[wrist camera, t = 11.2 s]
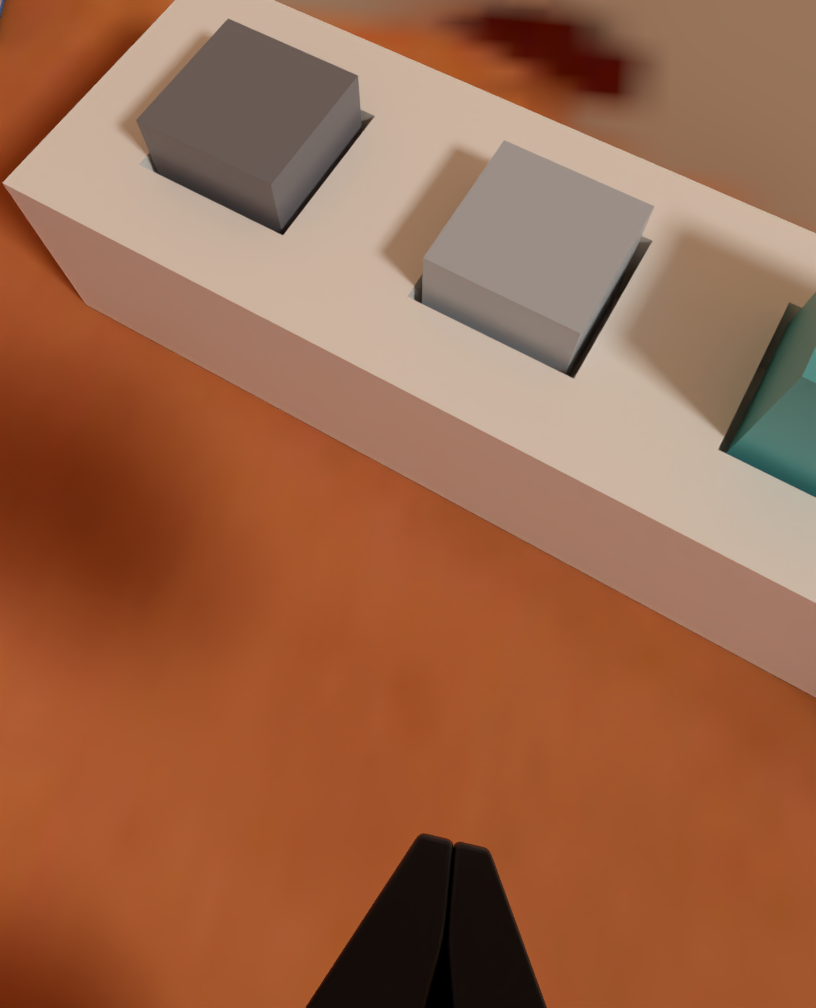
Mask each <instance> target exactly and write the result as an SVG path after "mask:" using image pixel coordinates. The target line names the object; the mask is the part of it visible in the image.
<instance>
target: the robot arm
mask: <svg viewBox="0 0 816 1008" xmlns="http://www.w3.org/2000/svg"><path fill="white" fill-rule="evenodd" d="M306 1008H547V1007H546V1004H545V1001H544V999H543V996H542V993H541V990H540V988H539V985H538V982H537V979H536V977H535V974H534V971H533V968H532V966H531V963H530V960H529V957H528V954H527V952H526V949H525V946H524V943H523V941H522V938H521V935H520V932H519V930H518V927H517V924H516V921H515V919H514V916H513V913H512V910H511V907H510V905H509V902H508V899H507V896H506V894H505V891H504V888H503V885H502V883H501V880H500V877H499V874H498V872H497V869H496V866H495V863H494V861H493V858H492V855H491V853H490V852H489V850H488V849H487V848H484V847H481V846H477V845H472V844H468V843H464V842H457V843H455V845H454V846H453V844H452V842H451V841H450V840H449V839H446V838H442V837H438V836H433V835H429V834H420V835H419V836H418V837H417V838H416V839H415V841H414V842H413V844H412V845H411V847H410V849H409V850H408V852H407V853H406V855H405V856H404V858H403V859H402V861H401V862H400V864H399V865H398V867H397V868H396V870H395V871H394V873H393V875H392V876H391V878H390V879H389V881H388V882H387V884H386V885H385V887H384V888H383V890H382V891H381V893H380V894H379V896H378V897H377V899H376V900H375V902H374V904H373V905H372V907H371V908H370V910H369V911H368V913H367V914H366V916H365V917H364V919H363V920H362V922H361V923H360V925H359V926H358V928H357V930H356V931H355V933H354V934H353V936H352V937H351V939H350V940H349V942H348V943H347V945H346V946H345V948H344V949H343V951H342V952H341V954H340V956H339V957H338V959H337V960H336V962H335V963H334V965H333V966H332V968H331V969H330V971H329V972H328V974H327V975H326V977H325V978H324V980H323V982H322V983H321V985H320V986H319V988H318V989H317V991H316V992H315V994H314V995H313V997H312V998H311V1000H310V1001H309V1003H308V1004H307V1006H306Z"/></svg>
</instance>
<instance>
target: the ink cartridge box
mask: <svg viewBox="0 0 816 1008" xmlns="http://www.w3.org/2000/svg"><path fill="white" fill-rule="evenodd" d="M4 2H5V0H0V17H1V13H2V10H3V6H4Z"/></svg>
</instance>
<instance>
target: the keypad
mask: <svg viewBox="0 0 816 1008" xmlns="http://www.w3.org/2000/svg"><path fill="white" fill-rule="evenodd" d="M227 19H231V20H233V21H235V22H238V23H240V24H242V25H244V26H247V27H249V28H251V29H253V30H256V31H258V32H260V33H263V34H265V35H267V36H269V37H272V38H274V39H276V40H278V41H281V42H283V43H285V44H287V45H290V46H292V47H294V48H297V49H299V50H301V51H303V52H306V53H308V54H310V55H312V56H315V57H317V58H319V59H322V60H324V61H326V62H328V63H331V64H333V65H335V66H337V67H340V68H342V69H344V70H347V71H349V72H351V73H353V74H356V75H358V81H359V95H360V109H361V123H362V134H361V135H360V136H359V138H358V139H357V140H356V141H355V143H354V144H353V145H352V147H351V148H350V149H349V151H348V152H347V153H346V154H345V156H344V157H343V158H342V160H341V161H340V162H339V163H338V165H337V166H336V167H335V169H334V170H333V171H332V173H331V174H330V175H329V176H328V178H327V179H326V180H325V182H324V183H323V184H322V186H321V187H320V188H319V189H318V191H317V192H316V193H315V195H314V196H313V197H312V199H311V200H310V201H309V202H308V204H307V205H306V206H305V208H304V209H303V210H302V212H301V213H300V214H299V215H298V217H297V218H296V219H295V221H294V222H293V223H292V224H291V226H290V227H289V228H288V230H287V231H286V232H285V234H284V235H281V234H279V233H277V232H275V231H273V230H271V229H269V228H267V227H265V226H263V225H261V224H259V223H256V222H254V221H252V220H250V219H248V218H246V217H244V216H242V215H240V214H238V213H236V212H234V211H232V210H230V209H228V208H226V207H224V206H222V205H220V204H218V203H216V202H214V201H212V200H210V199H208V198H206V197H204V196H202V195H200V194H198V193H195V192H193V191H191V190H189V189H187V188H185V187H183V186H181V185H179V184H177V183H175V182H173V181H171V180H169V179H167V178H165V177H163V176H161V175H159V174H158V172H157V169H156V167H155V164H154V162H153V160H152V157H151V155H150V152H149V150H148V148H147V145H146V143H145V140H144V138H143V136H142V133H141V131H140V128H139V126H138V124H137V121H136V120H137V118H138V117H139V116H140V115H141V114H142V113H143V112H144V111H145V110H146V109H147V107H148V106H149V105H150V104H151V103H152V102H153V101H154V100H155V99H156V97H157V96H158V95H159V94H160V93H161V92H162V91H163V90H164V89H165V88H166V86H167V85H168V84H169V83H170V82H171V81H172V80H173V79H174V78H175V76H176V75H177V74H178V73H179V72H180V71H181V70H182V69H183V68H184V67H185V65H186V64H187V63H188V62H189V61H190V60H191V59H192V58H193V57H194V55H195V54H196V53H197V52H198V51H199V50H200V49H201V48H202V47H203V46H204V44H205V43H206V42H207V41H208V40H209V39H210V38H211V37H212V36H213V34H214V33H215V32H216V31H217V30H218V29H219V28H220V27H221V26H222V25H223V23H224V22H225V21H226V20H227ZM504 140H505V141H507V142H509V143H512V144H514V145H516V146H519V147H521V148H523V149H525V150H528V151H530V152H532V153H534V154H537V155H539V156H541V157H544V158H546V159H548V160H550V161H553V162H555V163H557V164H559V165H562V166H564V167H566V168H569V169H571V170H573V171H575V172H578V173H580V174H582V175H584V176H587V177H589V178H591V179H593V180H596V181H598V182H600V183H603V184H605V185H607V186H609V187H612V188H614V189H616V190H618V191H621V192H623V193H625V194H628V195H630V196H632V197H634V198H637V199H639V200H641V201H643V202H646V203H648V204H650V205H653V206H654V209H653V211H652V213H651V216H650V218H649V220H648V223H647V225H646V227H645V230H644V232H643V234H642V237H641V239H640V241H639V244H638V246H637V248H636V251H635V253H634V255H633V257H632V260H631V262H630V264H629V267H628V269H627V271H626V274H625V276H624V278H623V281H622V283H621V285H620V288H619V290H618V292H617V295H616V297H615V299H614V301H613V302H612V304H611V306H610V308H609V309H608V311H607V313H606V315H605V316H604V318H603V320H602V321H601V323H600V325H599V327H598V328H597V330H596V332H595V334H594V335H593V337H592V339H591V341H590V342H589V344H588V346H587V348H586V349H585V351H584V353H583V355H582V356H581V358H580V360H579V362H578V363H577V365H576V367H575V369H574V370H573V372H572V374H571V376H568V375H565V374H563V373H561V372H559V371H557V370H555V369H553V368H551V367H549V366H547V365H545V364H543V363H541V362H539V361H537V360H535V359H533V358H531V357H529V356H527V355H525V354H523V353H521V352H519V351H517V350H515V349H513V348H511V347H509V346H507V345H505V344H502V343H500V342H498V341H496V340H494V339H492V338H490V337H488V336H486V335H484V334H482V333H480V332H478V331H476V330H474V329H472V328H470V327H468V326H466V325H464V324H462V323H460V322H458V321H456V320H454V319H452V318H450V317H448V316H446V315H444V314H441V313H439V312H437V311H435V310H433V309H431V308H429V307H427V306H425V305H423V304H422V278H423V257H424V256H425V254H426V253H427V252H428V250H429V249H430V247H431V246H432V244H433V243H434V241H435V240H436V238H437V237H438V236H439V234H440V233H441V231H442V230H443V228H444V227H445V225H446V224H447V222H448V221H449V220H450V218H451V217H452V215H453V214H454V212H455V211H456V209H457V208H458V206H459V205H460V204H461V202H462V201H463V199H464V198H465V196H466V195H467V193H468V192H469V190H470V189H471V188H472V186H473V185H474V183H475V182H476V180H477V179H478V177H479V176H480V174H481V173H482V171H483V170H484V169H485V167H486V166H487V164H488V163H489V161H490V160H491V158H492V157H493V155H494V154H495V153H496V151H497V150H498V148H499V147H500V145H501V144H502V142H503V141H504ZM3 185H4V186H5V188H6V189H7V191H8V192H9V194H10V195H11V196H12V198H13V199H14V201H15V202H16V204H17V205H18V207H19V208H20V210H21V211H22V212H23V214H24V215H25V217H26V218H27V220H28V221H29V223H30V224H31V226H32V227H33V228H34V230H35V231H36V233H37V234H38V236H39V237H40V239H41V240H42V242H43V243H44V244H45V246H46V247H47V249H48V250H49V252H50V253H51V255H52V256H53V258H54V259H55V260H56V262H57V263H58V265H59V266H60V268H61V269H62V271H63V272H64V274H65V275H66V277H67V278H68V279H69V281H70V282H71V284H72V285H73V287H74V288H75V290H76V291H77V293H78V294H79V295H80V297H81V298H82V300H83V301H84V303H85V304H86V305H87V306H89V307H91V308H93V309H95V310H97V311H99V312H100V313H102V314H104V315H106V316H108V317H110V318H112V319H113V320H115V321H117V322H119V323H121V324H123V325H125V326H126V327H128V328H130V329H132V330H134V331H136V332H138V333H139V334H141V335H143V336H145V337H147V338H149V339H151V340H152V341H154V342H156V343H158V344H160V345H162V346H164V347H165V348H167V349H169V350H171V351H173V352H175V353H177V354H178V355H180V356H182V357H184V358H186V359H188V360H190V361H191V362H193V363H195V364H197V365H199V366H201V367H203V368H204V369H206V370H208V371H210V372H212V373H214V374H216V375H217V376H219V377H221V378H223V379H225V380H227V381H229V382H230V383H232V384H234V385H236V386H238V387H240V388H242V389H243V390H245V391H247V392H249V393H251V394H253V395H255V396H256V397H258V398H260V399H262V400H264V401H266V402H268V403H269V404H271V405H273V406H275V407H277V408H279V409H281V410H282V411H284V412H286V413H288V414H290V415H292V416H294V417H295V418H297V419H299V420H301V421H303V422H305V423H307V424H308V425H310V426H312V427H314V428H316V429H318V430H320V431H321V432H323V433H325V434H327V435H329V436H331V437H333V438H334V439H336V440H338V441H340V442H342V443H344V444H346V445H347V446H349V447H351V448H353V449H355V450H357V451H359V452H360V453H362V454H364V455H366V456H368V457H370V458H372V459H373V460H375V461H377V462H379V463H381V464H383V465H385V466H386V467H388V468H390V469H392V470H394V471H396V472H398V473H399V474H401V475H403V476H405V477H407V478H409V479H411V480H412V481H414V482H416V483H418V484H420V485H422V486H424V487H425V488H427V489H429V490H431V491H433V492H435V493H437V494H438V495H440V496H442V497H444V498H446V499H448V500H449V501H451V502H453V503H455V504H457V505H459V506H461V507H462V508H464V509H466V510H468V511H470V512H472V513H474V514H475V515H477V516H479V517H481V518H483V519H485V520H487V521H488V522H490V523H492V524H494V525H496V526H498V527H500V528H501V529H503V530H505V531H507V532H509V533H511V534H513V535H514V536H516V537H518V538H520V539H522V540H524V541H526V542H527V543H529V544H531V545H533V546H535V547H537V548H539V549H540V550H542V551H544V552H546V553H548V554H550V555H552V556H553V557H555V558H557V559H559V560H561V561H563V562H565V563H566V564H568V565H570V566H572V567H574V568H576V569H578V570H579V571H581V572H583V573H585V574H587V575H589V576H591V577H592V578H594V579H596V580H598V581H600V582H602V583H604V584H605V585H607V586H609V587H611V588H613V589H615V590H617V591H618V592H620V593H622V594H624V595H626V596H628V597H630V598H631V599H633V600H635V601H637V602H639V603H641V604H643V605H644V606H646V607H648V608H650V609H652V610H654V611H656V612H657V613H659V614H661V615H663V616H665V617H667V618H669V619H670V620H672V621H674V622H676V623H678V624H680V625H682V626H683V627H685V628H687V629H689V630H691V631H693V632H695V633H696V634H698V635H700V636H702V637H704V638H706V639H708V640H709V641H711V642H713V643H715V644H717V645H719V646H721V647H722V648H724V649H726V650H728V651H730V652H732V653H734V654H735V655H737V656H739V657H741V658H743V659H745V660H747V661H748V662H750V663H752V664H754V665H756V666H758V667H760V668H761V669H763V670H765V671H767V672H769V673H771V674H773V675H774V676H776V677H778V678H780V679H782V680H784V681H786V682H787V683H789V684H791V685H793V686H795V687H797V688H799V689H800V690H802V691H804V692H806V693H808V694H810V695H812V696H813V697H815V698H816V497H814V496H811V495H809V494H807V493H805V492H803V491H801V490H799V489H797V488H795V487H793V486H791V485H789V484H787V483H785V482H783V481H781V480H779V479H777V478H775V477H773V476H771V475H769V474H767V473H765V472H763V471H761V470H759V469H757V468H755V467H753V466H751V465H748V464H746V463H744V462H742V461H740V460H738V459H736V458H734V457H732V456H730V455H728V454H726V453H727V451H728V449H729V447H730V444H731V442H732V440H733V438H734V436H735V434H736V432H737V430H738V428H739V426H740V424H741V421H742V419H743V417H744V415H745V413H746V411H747V409H748V407H749V405H750V403H751V400H752V398H753V396H754V394H755V392H756V390H757V388H758V386H759V384H760V382H761V380H762V377H763V375H764V373H765V371H766V369H767V367H768V365H769V363H770V361H771V359H772V356H773V354H774V352H775V350H776V348H777V346H778V344H779V342H780V340H781V338H782V336H783V333H784V331H785V329H786V327H787V325H788V324H789V323H790V322H791V321H792V319H793V318H794V317H795V316H796V315H797V313H798V312H799V311H800V310H801V309H802V307H803V306H804V305H805V304H806V303H807V301H808V300H809V299H810V298H811V297H812V296H813V294H814V293H815V292H816V233H813V232H811V231H809V230H807V229H804V228H802V227H800V226H797V225H795V224H793V223H790V222H788V221H786V220H783V219H781V218H779V217H776V216H774V215H772V214H769V213H767V212H765V211H762V210H760V209H758V208H755V207H753V206H751V205H748V204H746V203H744V202H741V201H739V200H737V199H734V198H732V197H730V196H727V195H725V194H723V193H721V192H718V191H716V190H714V189H711V188H709V187H707V186H704V185H702V184H700V183H697V182H695V181H693V180H690V179H688V178H686V177H683V176H681V175H679V174H676V173H674V172H672V171H669V170H667V169H665V168H662V167H660V166H658V165H655V164H653V163H651V162H648V161H646V160H644V159H641V158H639V157H637V156H635V155H632V154H630V153H628V152H625V151H623V150H621V149H618V148H616V147H614V146H611V145H609V144H607V143H604V142H602V141H600V140H597V139H595V138H593V137H590V136H588V135H586V134H583V133H581V132H579V131H576V130H574V129H572V128H569V127H567V126H565V125H562V124H560V123H558V122H555V121H553V120H551V119H548V118H546V117H544V116H542V115H539V114H537V113H535V112H532V111H530V110H528V109H525V108H523V107H521V106H518V105H516V104H514V103H511V102H509V101H507V100H504V99H502V98H500V97H497V96H495V95H493V94H490V93H488V92H486V91H483V90H481V89H479V88H476V87H474V86H472V85H469V84H467V83H465V82H462V81H460V80H458V79H456V78H453V77H451V76H449V75H446V74H444V73H442V72H439V71H437V70H435V69H432V68H430V67H428V66H425V65H423V64H421V63H418V62H416V61H414V60H411V59H409V58H407V57H404V56H402V55H400V54H397V53H395V52H393V51H390V50H388V49H386V48H383V47H381V46H379V45H376V44H374V43H372V42H370V41H367V40H365V39H363V38H360V37H358V36H356V35H353V34H351V33H349V32H346V31H344V30H342V29H339V28H337V27H335V26H332V25H330V24H328V23H325V22H323V21H321V20H318V19H316V18H314V17H311V16H309V15H307V14H304V13H302V12H300V11H297V10H295V9H293V8H290V7H288V6H286V5H284V4H281V3H279V2H277V1H274V0H175V1H174V2H173V3H172V4H171V5H170V6H169V7H168V8H167V9H166V11H165V12H164V13H163V14H162V15H161V16H160V17H159V18H158V19H157V20H156V21H155V22H154V23H153V24H152V25H151V26H150V27H149V28H148V30H147V31H146V32H145V33H144V34H143V35H142V36H141V37H140V38H139V39H138V40H137V41H136V42H135V43H134V44H133V45H132V46H131V47H130V49H129V50H128V51H127V52H126V53H125V54H124V55H123V56H122V57H121V58H120V59H119V60H118V61H117V62H116V63H115V64H114V65H113V66H112V68H111V69H110V70H109V71H108V72H107V73H106V74H105V75H104V76H103V77H102V78H101V79H100V80H99V81H98V82H97V83H96V84H95V85H94V87H93V88H92V89H91V90H90V91H89V92H88V93H87V94H86V95H85V96H84V97H83V98H82V99H81V100H80V101H79V102H78V103H77V104H76V106H75V107H74V108H73V109H72V110H71V111H70V112H69V113H68V114H67V115H66V116H65V117H64V118H63V119H62V120H61V121H60V122H59V123H58V125H57V126H56V127H55V128H54V129H53V130H52V131H51V132H50V133H49V134H48V135H47V136H46V137H45V138H44V139H43V140H42V141H41V142H40V144H39V145H38V146H37V147H36V148H35V149H34V150H33V151H32V152H31V153H30V154H29V155H28V156H27V157H26V158H25V159H24V160H23V161H22V163H21V164H20V165H19V166H18V167H17V168H16V169H15V170H14V171H13V172H12V173H11V174H10V175H9V176H8V177H7V178H6V179H5V180H4V182H3Z"/></svg>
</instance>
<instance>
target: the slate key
mask: <svg viewBox="0 0 816 1008" xmlns="http://www.w3.org/2000/svg"><path fill="white" fill-rule="evenodd" d="M653 209H654V206H653V205H650V204H648V203H646V202H643V201H641V200H639V199H637V198H634V197H632V196H630V195H628V194H625V193H623V192H621V191H618V190H616V189H614V188H612V187H609V186H607V185H605V184H603V183H600V182H598V181H596V180H593V179H591V178H589V177H587V176H584V175H582V174H580V173H578V172H575V171H573V170H571V169H569V168H566V167H564V166H562V165H559V164H557V163H555V162H553V161H550V160H548V159H546V158H544V157H541V156H539V155H537V154H534V153H532V152H530V151H528V150H525V149H523V148H521V147H519V146H516V145H514V144H512V143H509V142H507V141H505V140H504V141H503V142H502V144H501V145H500V147H499V148H498V150H497V151H496V153H495V154H494V155H493V157H492V158H491V160H490V161H489V163H488V164H487V166H486V167H485V169H484V170H483V171H482V173H481V174H480V176H479V177H478V179H477V180H476V182H475V183H474V185H473V186H472V188H471V189H470V190H469V192H468V193H467V195H466V196H465V198H464V199H463V201H462V202H461V204H460V205H459V206H458V208H457V209H456V211H455V212H454V214H453V215H452V217H451V218H450V220H449V221H448V222H447V224H446V225H445V227H444V228H443V230H442V231H441V233H440V234H439V236H438V237H437V238H436V240H435V241H434V243H433V244H432V246H431V247H430V249H429V250H428V252H427V253H426V254H425V256H424V257H423V278H422V304H423V305H425V306H427V307H429V308H431V309H433V310H435V311H437V312H439V313H441V314H444V315H446V316H448V317H450V318H452V319H454V320H456V321H458V322H460V323H462V324H464V325H466V326H468V327H470V328H472V329H474V330H476V331H478V332H480V333H482V334H484V335H486V336H488V337H490V338H492V339H494V340H496V341H498V342H500V343H502V344H505V345H507V346H509V347H511V348H513V349H515V350H517V351H519V352H521V353H523V354H525V355H527V356H529V357H531V358H533V359H535V360H537V361H539V362H541V363H543V364H545V365H547V366H549V367H551V368H553V369H555V370H557V371H559V372H561V373H563V374H565V375H568V376H571V374H572V372H573V370H574V369H575V367H576V365H577V363H578V362H579V360H580V358H581V356H582V355H583V353H584V351H585V349H586V348H587V346H588V344H589V342H590V341H591V339H592V337H593V335H594V334H595V332H596V330H597V328H598V327H599V325H600V323H601V321H602V320H603V318H604V316H605V315H606V313H607V311H608V309H609V308H610V306H611V304H612V302H613V301H614V299H615V297H616V295H617V292H618V290H619V288H620V285H621V283H622V281H623V278H624V276H625V274H626V271H627V269H628V267H629V264H630V262H631V260H632V257H633V255H634V253H635V251H636V248H637V246H638V244H639V241H640V239H641V237H642V234H643V232H644V230H645V227H646V225H647V223H648V220H649V218H650V216H651V213H652V211H653Z"/></svg>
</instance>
